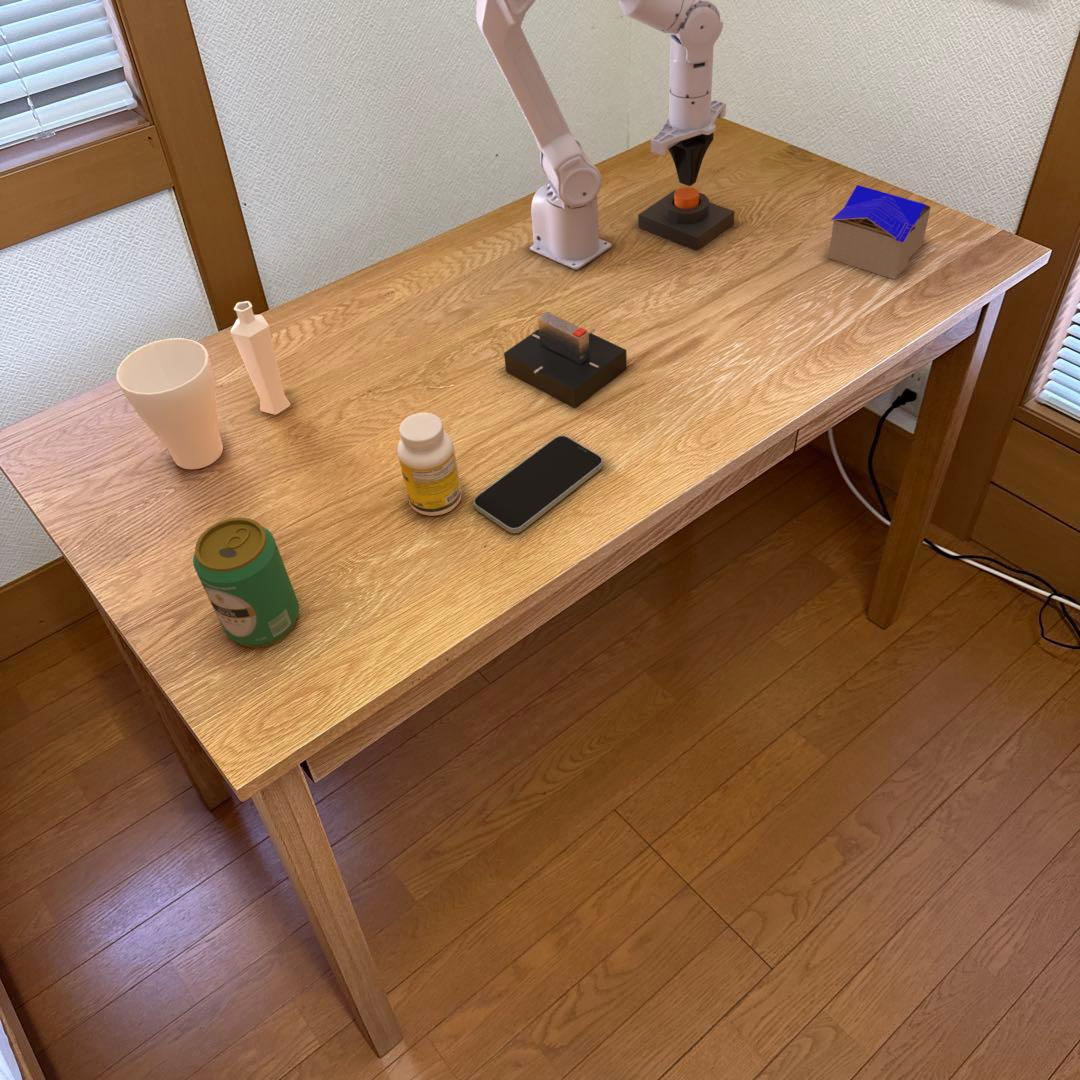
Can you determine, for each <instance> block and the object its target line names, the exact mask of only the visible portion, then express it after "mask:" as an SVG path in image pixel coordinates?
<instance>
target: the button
mask: <svg viewBox="0 0 1080 1080" xmlns="http://www.w3.org/2000/svg"><path fill="white" fill-rule="evenodd" d="M675 190H676V191H675V193H674V205H675V207H678V208H680V209H692V208H696V207H697V206H698V205H699V193H700V191H699V190H698V189H697V188H695V187H692V186H684V187H679V188H677V189H675Z"/></svg>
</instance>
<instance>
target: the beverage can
mask: <svg viewBox="0 0 1080 1080" xmlns="http://www.w3.org/2000/svg"><path fill="white" fill-rule="evenodd" d="M192 564H193V568H194V570H195V572H196V574H197V577H198V578H199V581H200V583H201V585H202V587H203V590H204V592H205V593H206V597H207V598H208V600H209V602H210V605H211V606H212V609H213V611H214V613H215V615H216V617H217V619H218V621H219V623H220V626H221V627H222V629H223V632H224V633H225V635H226V636H227V638H229V639H230V640H232V641H233V642H235V643H236V644H237V643H238V644H239V645H241V646H244V647H246V648H264V647H265V648H266V647H268V646H271V645H272V646H273V645H274V644H276V643H278V642H280V641H281V640H283V639H284V638H286V636H288V634H290V632H291V631H292V630H293V628H294V627H295V626H296V622H297V618H298V616H299V612H300V604H299V601H298V597H297V595H296V592H295V590H294V587H293V585H292V581H291V580H290V577H289V574H288V571H287V569H286V566H285V563H284V561H283V558H282V555H281V553H280V550H279V547H278V545H277V542H276V539H275V538H274V535H273V533H271V531H270V530H269V529H268V528H267V527H265V526H263V525H262V524H261V523H259V522H258V521H256V520H255V519H252V518H247V517H231V518H227V519H223V520H220V521H218V522H216V523H214V524H212V525H211V526H210V527H208V528H207V529H205V530H204V531H203V532H202V533H201V534H200V536H199V537H198V539H197V540H196V543H195V546H194V553H193V558H192Z"/></svg>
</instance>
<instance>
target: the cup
mask: <svg viewBox="0 0 1080 1080" xmlns="http://www.w3.org/2000/svg"><path fill="white" fill-rule="evenodd" d="M209 355H210V354H209V352H208V350H207V348H206V347H205V346H204V345H203V344H201V343H199V342H198V341H196V340H194V339H193V340H192V339H189V338H183V337H182V338H181V337H173V338H163V339H160V340H155V341H152V342H149V343H147V344H145V345H142V346H140V347H138V348H137V349H135V350H133V351H132V352H131V353H129V354H128V355H127V356H126V357H124V359H123V360H122V361H121V362H120V364H119V365H118V367H117V370H116V373H115V378H116V383H117V385H118V386H119V388H120V390H121V391H122V393H123V395H124V397H125V399H126V400H127V401H128V403H129V404H130V406H131V407H132V408H133V410H134V411H135V413H137V415H138V416H139V418H140V419H141V421H143V423H144V424H145V425H146V426H147V427H148V428H149V429H150V430H151V431H152V433H153V434H154V435H155V436H156V437H157V438H158V440H159V441H160V442H161V443H162V444H163V446H164V447H165V448H166V449H167V451H168V454H169V455H170V456H171V458H172V460H173V461H174V463H175V465H177V466H178V467H179V468H182V469H185V470H199V469H202V468H206V467H208V466H210V465H212V464H214V463H215V462H216V461H217V460H218V459H219V458H220V457H221V456H222V454H223V450H224V446H223V441H222V438H221V434H220V427H219V419H218V418H219V417H218V400H217V399H218V398H217V390H216V382H215V375H214V370H213V366H212V363H211V360H210V356H209Z"/></svg>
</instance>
